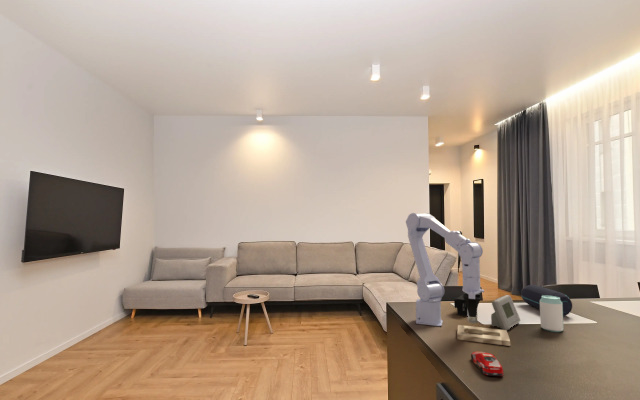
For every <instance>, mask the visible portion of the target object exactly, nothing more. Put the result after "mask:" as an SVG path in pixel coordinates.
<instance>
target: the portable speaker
mask: <svg viewBox="0 0 640 400" xmlns="http://www.w3.org/2000/svg"><path fill="white" fill-rule="evenodd" d="M520 296H521V299H522V300H523V301H524V303H526V304H527V305H529V306H531V307H533V308H536V309H538V310H540V299H541V298H542V297H541V296H556V297H559V298H560V300H561V302H562V305H563V317H565V316H568V315H569V314H570V313H571V312H572V309H573V302H572V300H571V298H570V297H569V296H568V295H567V294H565V293H563V292H560V291H557V290H554V289H550V288H546V287H543V286H540V285H536V284H529V285H528V284H527V285H526V286H524V287H523V288H522V289H521V292H520Z"/></svg>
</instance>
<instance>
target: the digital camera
mask: <svg viewBox="0 0 640 400" xmlns="http://www.w3.org/2000/svg"><path fill="white" fill-rule="evenodd" d="M453 305H454V308H455V309H456V314H457V316H462V317H467V305H466V302H465V300H464V298H463V294H461V295H460V296H458V297H454V301H453Z"/></svg>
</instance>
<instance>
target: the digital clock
mask: <svg viewBox="0 0 640 400" xmlns="http://www.w3.org/2000/svg"><path fill="white" fill-rule="evenodd" d="M491 306H492V308H493V310H494V312H492V313H491V317H490V319H491V320H490V321H491V326H492V327H494V326H497V327H496V328H499V327H500V329H501V330H507V331H508V330H510V328H511V327H512V328H514V327H515V326H517V325H516V324H519V323H520V322H521V318H520V316H519V313H518V311H517V309H516V306H515V304H514V301H513V299H512V297H511V295H509V294H506V295H501V296H500V297H497V298H496V299H494V300H493V301H492V302H491ZM514 325H515V326H514ZM513 326H514V327H513ZM512 328H511V329H512Z"/></svg>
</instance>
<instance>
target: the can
mask: <svg viewBox="0 0 640 400" xmlns="http://www.w3.org/2000/svg"><path fill="white" fill-rule="evenodd" d="M541 297H542V298H541V299H540V309H539V317H540V318H539V319H540V327H541V328H542V329H543V330H544V331H547V332H552V333H560V332H563V331H564V330H565V328H564V316H563V305H562V302H561V300H560V298H559V297H556V296H541Z"/></svg>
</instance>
